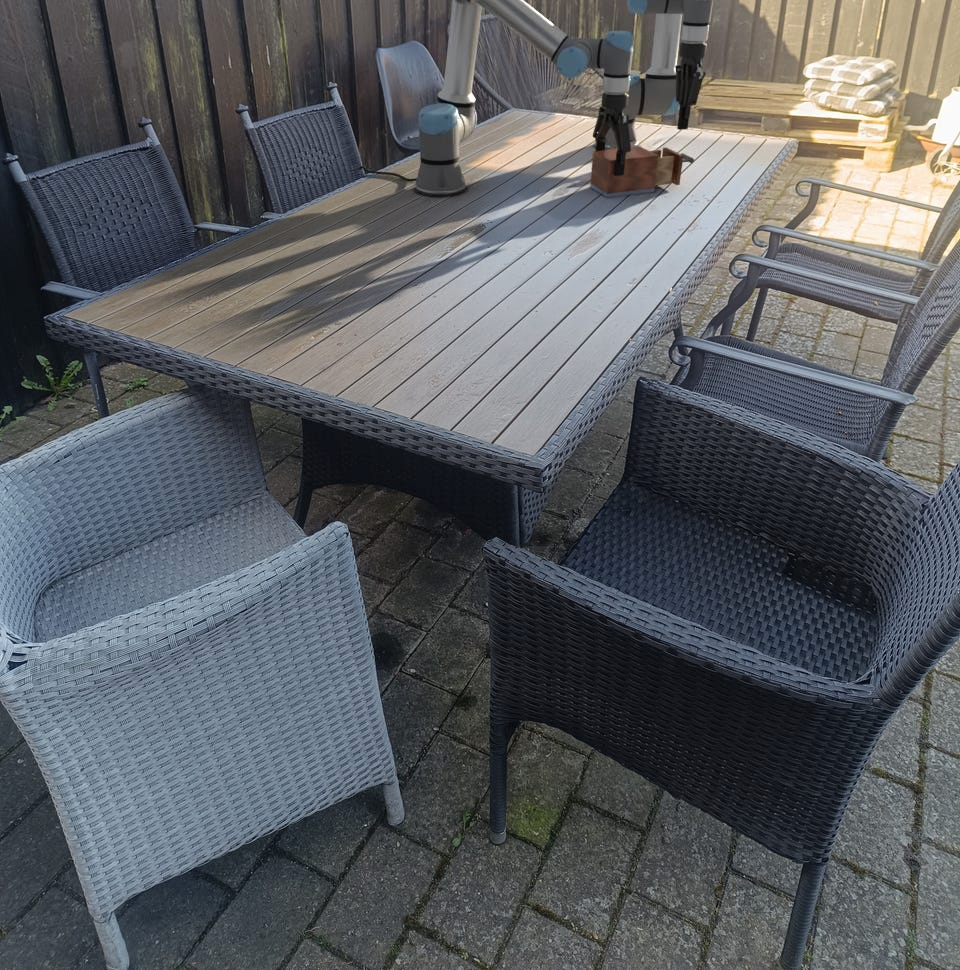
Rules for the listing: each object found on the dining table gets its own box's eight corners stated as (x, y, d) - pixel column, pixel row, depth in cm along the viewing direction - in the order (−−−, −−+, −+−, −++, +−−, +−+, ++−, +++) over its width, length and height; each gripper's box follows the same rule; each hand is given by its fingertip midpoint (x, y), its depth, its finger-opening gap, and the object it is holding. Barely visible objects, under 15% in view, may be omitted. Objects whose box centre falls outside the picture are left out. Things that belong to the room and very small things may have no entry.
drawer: (677, 174, 268) (681, 145, 263) (694, 183, 261) (698, 153, 256) (621, 180, 263) (623, 151, 258) (636, 189, 255) (640, 160, 250)
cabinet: (636, 181, 265) (639, 146, 259) (654, 191, 257) (658, 155, 251) (590, 187, 261) (592, 151, 255) (607, 197, 252) (610, 160, 246)
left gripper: (648, 99, 233) (639, 179, 245) (607, 83, 251) (601, 158, 264) (624, 101, 231) (616, 181, 243) (584, 85, 249) (579, 160, 262)
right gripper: (717, 44, 237) (704, 132, 251) (692, 37, 247) (681, 123, 261) (694, 45, 235) (682, 134, 249) (670, 39, 245) (660, 125, 259)
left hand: (608, 169), depth 254 cm, fingers open, 12 cm apart
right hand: (682, 128), depth 255 cm, fingers closed
